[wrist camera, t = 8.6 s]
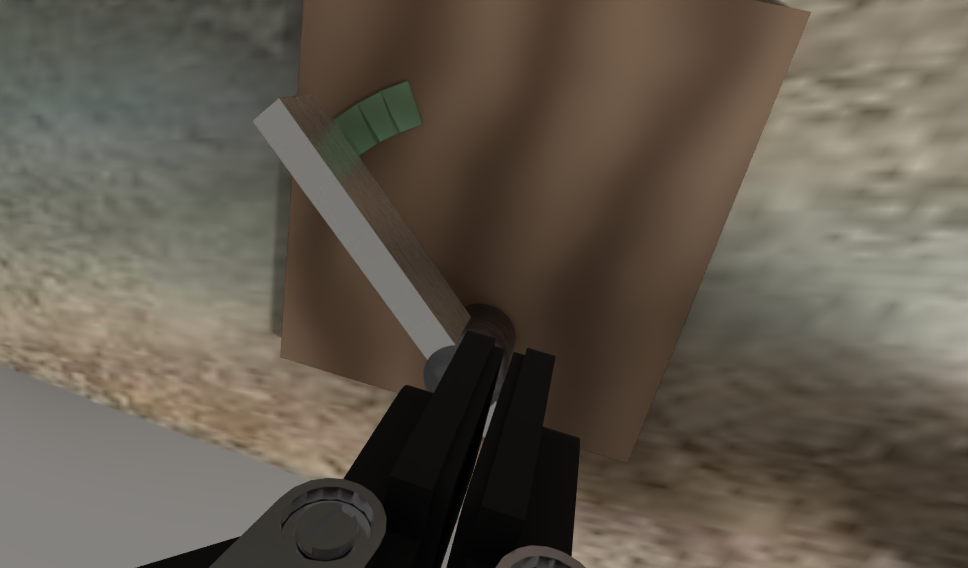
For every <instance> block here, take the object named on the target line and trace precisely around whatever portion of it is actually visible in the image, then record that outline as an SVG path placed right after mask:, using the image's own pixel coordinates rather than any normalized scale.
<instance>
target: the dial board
mask: <svg viewBox="0 0 968 568" xmlns="http://www.w3.org/2000/svg"><path fill="white" fill-rule="evenodd" d="M810 13H811V12H809V11H804V10H799V9H794V8H790V7H785V6H780V5H775V4H771V3H766V2H761V1H756V0H304V2H303V17H302V32H301V48H300V63H299V78H298V94H297V96H303V95H312V94H316V96H317V97H318V99H319V100H320V101H321V103H322V104H323V106H324V107H325V109H326V110H327V111H328V113H329V114H330V116H331V117H332V119H333V120H334V121H335V123H336V124H337V126H338V127H339V129H340V130H341V131H342V133H343V134H344V136H345V137H346V139H347V140H348V142H349V143H350V144H351V146H352V147H353V149H354V150H355V152H356V153H357V154H358V156H359V157H360V159H361V160H362V162H363V163H364V164H365V166H366V167H367V169H368V170H369V172H370V173H371V174H372V176H373V177H374V179H375V180H376V182H377V183H378V184H379V186H380V187H381V189H382V190H383V192H384V193H385V195H386V196H387V197H388V199H389V200H390V202H391V203H392V205H393V206H394V207H395V209H396V210H397V212H398V213H399V215H400V216H401V217H402V219H403V220H404V222H405V223H406V225H407V226H408V227H409V229H410V230H411V232H412V233H413V235H414V236H415V237H416V239H417V240H418V242H419V243H420V245H421V246H422V247H423V249H424V250H425V252H426V253H427V255H428V256H429V258H430V259H431V260H432V262H433V263H434V265H435V266H436V268H437V269H438V270H439V272H440V273H441V275H442V276H443V278H444V279H445V280H446V282H447V283H448V285H449V286H450V288H451V289H452V290H453V292H454V293H455V295H456V296H457V298H458V299H459V300H460V302H461V303H462V305H463V306H464V307H465V306H468V305H471V304H488V305H491V306H494V307H496V308H498V309H500V310H501V311H502V312H504V313H505V314H506V315H507V316H508V317H509V319H510V320H511V322H512V323H513V325H514V328H515V331H516V343H515V347H514V350H513V352H517V353H520V354H523V355H525V353H526V350H527V348H531V349H534V350H537V351H541V352H544V353H548V354H551V355H555V356H556V357H555V363H554V368H553V373H552V379H551V384H550V390H549V395H548V400H547V406H546V411H545V417H544V422H543V427H546V428H549V429H552V430H556V431H559V432H562V433H565V434H569V435H572V436H575V437H578V438H579V439H580V449H582V450H585V451H589V452H592V453H595V454H598V455H602V456H605V457H608V458H611V459H615V460H618V461H621V462H625V463H628V460H629V458H630V455H631V453H632V451H633V448H634V446H635V443H636V441H637V438H638V436H639V433H640V431H641V428H642V426H643V424H644V421H645V419H646V416H647V414H648V411H649V409H650V406H651V404H652V401H653V399H654V397H655V394H656V392H657V389H658V387H659V384H660V382H661V379H662V377H663V374H664V372H665V370H666V367H667V365H668V362H669V360H670V357H671V355H672V352H673V350H674V347H675V345H676V343H677V340H678V338H679V335H680V333H681V330H682V328H683V325H684V323H685V320H686V318H687V316H688V313H689V311H690V308H691V306H692V303H693V301H694V298H695V296H696V293H697V291H698V289H699V286H700V284H701V281H702V279H703V276H704V274H705V271H706V269H707V266H708V264H709V261H710V259H711V257H712V254H713V252H714V249H715V247H716V244H717V242H718V239H719V237H720V234H721V232H722V230H723V227H724V225H725V222H726V220H727V217H728V215H729V212H730V210H731V207H732V205H733V203H734V200H735V198H736V195H737V193H738V190H739V188H740V185H741V183H742V180H743V178H744V176H745V173H746V171H747V168H748V166H749V163H750V161H751V158H752V156H753V153H754V151H755V149H756V146H757V144H758V141H759V139H760V136H761V134H762V131H763V129H764V126H765V124H766V122H767V119H768V117H769V114H770V112H771V109H772V107H773V104H774V102H775V99H776V97H777V95H778V92H779V90H780V87H781V85H782V82H783V80H784V77H785V75H786V72H787V70H788V68H789V65H790V63H791V60H792V58H793V55H794V53H795V50H796V48H797V45H798V43H799V40H800V38H801V36H802V33H803V31H804V28H805V26H806V23H807V21H808V18H809V16H810ZM512 355H513V353H512ZM280 357H281V358H284V359H288V360H291V361H294V362H297V363H301V364H304V365H307V366H310V367H314V368H317V369H320V370H324V371H327V372H330V373H333V374H337V375H340V376H343V377H346V378H350V379H353V380H356V381H360V382H363V383H366V384H369V385H373V386H376V387H379V388H382V389H386V390H389V391H392V392H396V393H399V392H400V390H401V389H402V388H403V387H404V386H405V385H410V386H413V387H416V388H419V389H423V390H426V391H427V389H426V387H425V384H424V379H423V372H424V367H425V364H426V362H427V359H426V357H425V356H424V355H423V353H422V352H421V351H420V349H419V348H418V347H417V345H416V344H415V342H414V341H413V340H412V338H411V337H410V336H409V334H408V333H407V331H406V330H405V329H404V327H403V326H402V325H401V323H400V322H399V321H398V319H397V318H396V316H395V315H394V314H393V312H392V311H391V310H390V308H389V307H388V306H387V304H386V303H385V301H384V300H383V299H382V297H381V296H380V295H379V293H378V292H377V291H376V289H375V288H374V286H373V285H372V284H371V282H370V281H369V280H368V278H367V277H366V276H365V274H364V273H363V271H362V270H361V269H360V267H359V266H358V265H357V263H356V262H355V261H354V259H353V258H352V256H351V255H350V254H349V252H348V251H347V250H346V248H345V247H344V246H343V244H342V243H341V241H340V240H339V239H338V237H337V236H336V235H335V233H334V232H333V231H332V229H331V228H330V226H329V225H328V224H327V222H326V221H325V220H324V218H323V217H322V216H321V214H320V213H319V211H318V210H317V209H316V207H315V206H314V205H313V203H312V202H311V201H310V199H309V198H308V196H307V195H306V194H305V192H304V191H303V190H302V188H301V187H300V186H299V184H298V183H297V181H296V180H295V179H294V177H293V176H292V186H291V201H290V216H289V232H288V247H287V262H286V278H285V293H284V308H283V324H282V339H281V354H280ZM511 358H512V356H511ZM510 361H511V359H510ZM509 364H510V362H509ZM508 367H509V365H508ZM507 369H508V368H507Z"/></svg>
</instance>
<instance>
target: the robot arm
mask: <svg viewBox="0 0 968 568" xmlns="http://www.w3.org/2000/svg"><path fill="white" fill-rule="evenodd" d="M495 342H496V338H493V337H490V336H486V335H483V334H479V333H476V332H473V331H469V330H467V332H466V334H465V336H464V337H463V339H462V341H461V343H460V345H459V347H458V349H457V350H456V352H455V354H454V356H453V358H452V360H451V362H450V363H449V365H448V367H447V369H446V371H445V373H444V375H443V376H442V378H441V380H440V382H439V384H438V386H437V388H436V389H435V391H434V393H432V392H429V391H426V390H423V389H419V388H416V387H413V386H410V385H405V386H404V387H403V388H402V389H401V390H400V392H399V393H398V395H397V397H396V398H395V400H394V401H393V403H392V404H391V406H390V407H389V409H388V410H387V412H386V414H385V415H384V417H383V418H382V420H381V421H380V423H379V424H378V426H377V428H376V429H375V431H374V432H373V434H372V435H371V437H370V438H369V440H368V442H367V443H366V445H365V446H364V448H363V449H362V451H361V452H360V454H359V456H358V457H357V459H356V460H355V462H354V463H353V465H352V466H351V468H350V469H349V471H348V473H347V474H346V476H345V477H344V479H335V478H324V479H318V480H311V481H308V482H306V483H303V484H301V485H299V486H296V487H294V488H293V489H291V490H290V491H288V492H287V493H286V494H284V495H283V496H282V497H281V498H280V499H278V501H276V502H275V503H274V505H272V506H271V507H270V508H269V509H268V510H267V511H266V512H265V513H264V514H263V515H262V516H261V517H260V518H259V519H258V520H257V521H256V522H255V523H254V524H253V525H252V526H251V527H250V528H249V529H248V530H247V531H246V532H245V533H244V534H243V535H242V536H240V537H237V538H233V539H230V540H227V541H223V542H220V543H217V544H213V545H210V546H207V547H204V548H200V549H197V550H193V551H190V552H187V553H183V554H180V555H177V556H174V557H170V558H167V559H163V560H161V561H157V562H154V563H150V564H147V565H144V566H140V567H137V568H441V565H442V562H443V560H444V556H445V554H446V551H447V548H448V545H449V542H450V539H451V536H452V533H453V530H454V527H455V524H456V521H457V518H458V515H459V512H460V509H461V506H462V503H463V500H464V497H465V500H464V503H463V507H462V510H461V514H460V517H459V521H458V525H457V529H456V533H455V537H454V541H453V544H452V548H451V553H450V556H449V560H448V564H447V568H585V567H584V566H583V565H582V564H581V563H580V562H579V561H577V560H576V559H574V558H572V557H571V556H572V543H573V530H574V517H575V504H576V491H577V478H578V466H579V453H580V439H579V438H578V437H575V436H572V435H569V434H565V433H562V432H559V431H556V430H552V429H549V428H546V427H543V422H544V417H545V411H546V406H547V400H548V395H549V390H550V384H551V379H552V373H553V368H554V363H555V357H556V356H555V355H551V354H548V353H544V352H541V351H537V350H534V349H531V348H527V350H526V353H525V355H523V354H520V353H517V352H513V355H512V358H511V361H510V364H509V367H508V370H507V373H506V376H505V379H504V382H503V385H502V388H501V391H500V394H499V397H498V400H497V403H496V406H495V409H494V412H493V415H492V418H491V421H490V424H489V427H488V430H487V433H486V436H485V439H484V442H483V445H482V448H481V451H480V454H479V457H478V460H477V463H476V459H477V455H478V451H479V447H480V444H481V440H482V436H483V432H484V428H485V424H486V421H487V417H488V413H489V409H490V405H491V401H492V398H493V394H494V390H495V386H496V382H497V378H498V374H499V371H500V367H501V363H502V359H503V355H504V351H505V349H503V348H500V347H496V346H495ZM475 463H476V466H475ZM474 466H475V469H474ZM473 470H474V472H473ZM472 473H473V475H472ZM471 476H472V478H471ZM470 479H471V481H470ZM469 482H470V484H469ZM468 485H469V487H468ZM467 488H468V490H467ZM466 491H467V493H466ZM465 494H466V496H465Z"/></svg>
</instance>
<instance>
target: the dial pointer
mask: <svg viewBox="0 0 968 568" xmlns="http://www.w3.org/2000/svg"><path fill="white" fill-rule="evenodd" d="M253 123H254V124H255V125H256V127H257V128H258V130H259V131H260V132H261V134H262V135H263V136H264V138H265V139H266V141H267V142H268V143H269V145H270V146H271V147H272V149H273V150H274V151H275V153H276V154H277V156H278V157H279V158H280V160H281V161H282V162H283V164H284V165H285V166H286V168H287V169H288V171H289V172H290V173H291V175H292V176H293V177H294V179H295V180H296V181H297V183H298V184H299V186H300V187H301V188H302V190H303V191H304V192H305V194H306V195H307V196H308V198H309V199H310V201H311V202H312V203H313V205H314V206H315V207H316V209H317V210H318V211H319V213H320V214H321V216H322V217H323V218H324V220H325V221H326V222H327V224H328V225H329V226H330V228H331V229H332V231H333V232H334V233H335V235H336V236H337V237H338V239H339V240H340V241H341V243H342V244H343V246H344V247H345V248H346V250H347V251H348V252H349V254H350V255H351V256H352V258H353V259H354V261H355V262H356V263H357V265H358V266H359V267H360V269H361V270H362V271H363V273H364V274H365V276H366V277H367V278H368V280H369V281H370V282H371V284H372V285H373V286H374V288H375V289H376V291H377V292H378V293H379V295H380V296H381V297H382V299H383V300H384V301H385V303H386V304H387V306H388V307H389V308H390V310H391V311H392V312H393V314H394V315H395V316H396V318H397V319H398V321H399V322H400V323H401V325H402V326H403V327H404V329H405V330H406V331H407V333H408V334H409V336H410V337H411V338H412V340H413V341H414V342H415V344H416V345H417V347H418V348H419V349H420V351H421V352H422V353H423V355H424V356H425V357H426V359H427V362H426V364H425V367H424V372H423V379H424V384H425V387H426V389H427V391H429V392H432V393H434V391H435V389H436V388H437V386H438V384H439V382H440V380H441V378H442V376H443V375H444V373H445V371H446V369H447V367H448V365H449V363H450V362H451V360H452V358H453V356H454V354H455V352H456V350H457V349H458V347H459V345H460V343H461V341H462V339H463V337H464V336H465V334H466V332H467V330H469V331H473V332H476V333H479V334H483V335H486V336H490V337H493V338H496V342H495V346H496V347H500V348H503V349H505V351H504V355H503V359H502V363H501V367H500V371H499V374H498V378H497V382H496V386H495V390H494V394H493V398H492V401H491V405H490V409H489V413H488V417H487V421H486V424H485V428H484V432H483V437H484V438H485V436H486V433H487V430H488V427H489V424H490V421H491V418H492V415H493V412H494V409H495V406H496V403H497V400H498V397H499V394H500V391H501V388H502V385H503V382H504V379H505V376H506V373H507V370H508V369H507V368H508V365H509V362H510V359H511V356H512V353H513V350H514V347H515V343H516V331H515V328H514V325H513V323H512V322H511V320H510V319H509V317H508V316H507V315H506V314H505V313H504V312H502V311H501V310H500V309H498V308H496V307H494V306H491V305H488V304H471V305H468V306H465V307H464V306H463V305H462V303H461V302H460V300H459V299H458V298H457V296H456V295H455V293H454V292H453V290H452V289H451V288H450V286H449V285H448V283H447V282H446V280H445V279H444V278H443V276H442V275H441V273H440V272H439V270H438V269H437V268H436V266H435V265H434V263H433V262H432V260H431V259H430V258H429V256H428V255H427V253H426V252H425V250H424V249H423V247H422V246H421V245H420V243H419V242H418V240H417V239H416V237H415V236H414V235H413V233H412V232H411V230H410V229H409V227H408V226H407V225H406V223H405V222H404V220H403V219H402V217H401V216H400V215H399V213H398V212H397V210H396V209H395V207H394V206H393V205H392V203H391V202H390V200H389V199H388V197H387V196H386V195H385V193H384V192H383V190H382V189H381V187H380V186H379V184H378V183H377V182H376V180H375V179H374V177H373V176H372V174H371V173H370V172H369V170H368V169H367V167H366V166H365V164H364V163H363V162H362V160H361V159H360V157H359V156H358V154H357V153H356V152H355V150H354V149H353V147H352V146H351V144H350V143H349V142H348V140H347V139H346V137H345V136H344V134H343V133H342V131H341V130H340V129H339V127H338V126H337V124H336V123H335V121H334V120H333V119H332V117H331V116H330V114H329V113H328V111H327V110H326V109H325V107H324V106H323V104H322V103H321V101H320V100H319V99H318V97H317V96H316V94H312V95H303V96H293V97H284V98H278V99H277V100H276V101H275V102H274V103H273V104H271V105H270V106H269V107H268V108H267V109H266V110H265V111H263V112H262V113H261V114H260V115H259V116H258V117H256V118H255V119H254V120H253Z"/></svg>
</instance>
